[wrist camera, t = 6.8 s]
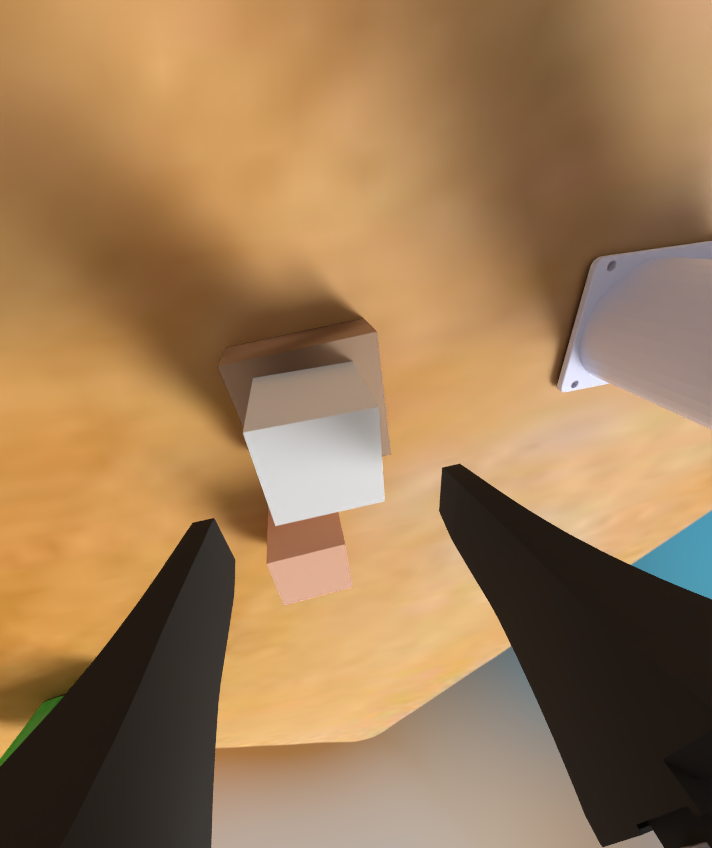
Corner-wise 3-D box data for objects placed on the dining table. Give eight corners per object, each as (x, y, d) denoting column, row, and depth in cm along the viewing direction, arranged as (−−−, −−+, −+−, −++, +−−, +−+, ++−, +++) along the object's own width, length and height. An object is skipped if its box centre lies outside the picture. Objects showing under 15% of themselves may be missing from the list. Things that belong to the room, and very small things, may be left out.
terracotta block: (333, 490, 22) (345, 544, 18) (341, 532, 24) (352, 587, 20) (268, 505, 21) (266, 563, 17) (282, 546, 24) (284, 605, 20)
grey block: (352, 361, 14) (378, 407, 11) (361, 440, 17) (384, 501, 13) (253, 378, 14) (242, 432, 10) (276, 457, 16) (275, 526, 12)
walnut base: (361, 316, 16) (376, 331, 14) (377, 426, 20) (390, 454, 18) (227, 345, 16) (217, 366, 13) (269, 453, 19) (267, 485, 17)
